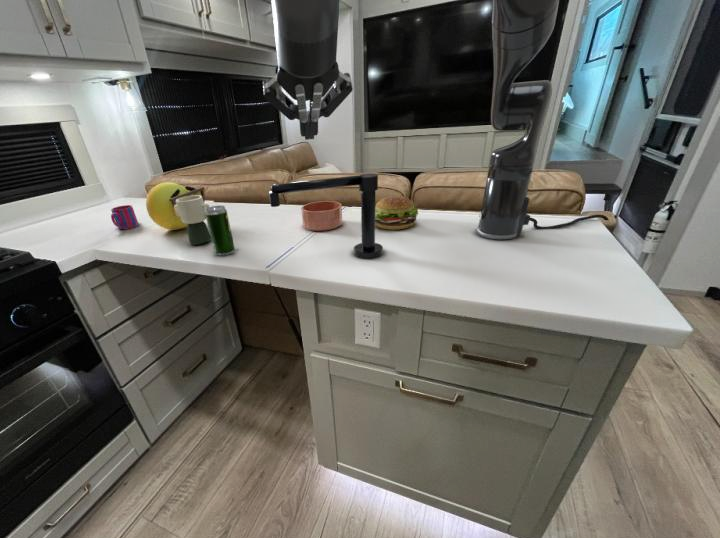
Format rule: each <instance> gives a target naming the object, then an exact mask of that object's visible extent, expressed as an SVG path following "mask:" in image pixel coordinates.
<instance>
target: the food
mask: <svg viewBox="0 0 720 538" xmlns="http://www.w3.org/2000/svg"><path fill="white" fill-rule="evenodd" d="M418 216H419V210H418V207H417V206H416V204H415V203H414V202H413V200H412V199H410V198H409V197H406V196H401V195H391V196H386V197H383V198H381V199H380V200H379V201H378V202H375V227H378V228H379V229H383V230H393V231H395V230H397V231H398V230H402V229H403V230H404V229H408V228H410V227H412V226H414V224H415V222H416V220H417V217H418Z"/></svg>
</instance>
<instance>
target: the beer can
mask: <svg viewBox="0 0 720 538" xmlns="http://www.w3.org/2000/svg"><path fill="white" fill-rule="evenodd" d="M205 208H206V207H205ZM227 210H228V209H226V206H225V205H220V204H219V205H211V206H209V207H208V208H206V209H205V211H206V212H205V215H206V219H205V220H206V224H207V228H208V230H209V233H210V236H211V239H210V240H211V243H212V246H213V250H214V253H215V254H216V256H219V257H224V256H229V255H232V254H234V253H235V249H236V246H235V243H234V238H233V233H232V228H231V225H230V220H229V219H230V218H229V215H228V211H227Z"/></svg>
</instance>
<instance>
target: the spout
mask: <svg viewBox="0 0 720 538" xmlns="http://www.w3.org/2000/svg"><path fill="white" fill-rule="evenodd" d="M354 186H355V187H356V186H358V191H359V192H361V191H363V192H370V191H375V192H376V191H377V190H378V189H379V175H378V173H363V174H359V175H351V176H341V177H340V176H339V177H330V178H321V179H320V178H319V179H312V180H302V181H294V182H284V183H283V182H282V183H275V184H272V185H271V186H270V191H269V192H268V196H269V203H270V207H272V208H276V207H280V206H281V202H280V195H279V194H290V193H299V192H308V191H309V192H310V191H316V190H317V191H318V190H326V189H337V188H345V187H354Z"/></svg>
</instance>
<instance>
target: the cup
mask: <svg viewBox="0 0 720 538" xmlns="http://www.w3.org/2000/svg"><path fill="white" fill-rule="evenodd" d="M110 211H111V214H110V218H111V222H112V223H113V225H114V226H115V227H117V229H119V230H128V229H129V230H130V229H133V228H136V227H138V226H139V225H140V223H139V221H138V219H137V215H136V213H135V210H134V207H133V205H131V204H125V205H119V206H115V207H112V208H111V209H110Z"/></svg>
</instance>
